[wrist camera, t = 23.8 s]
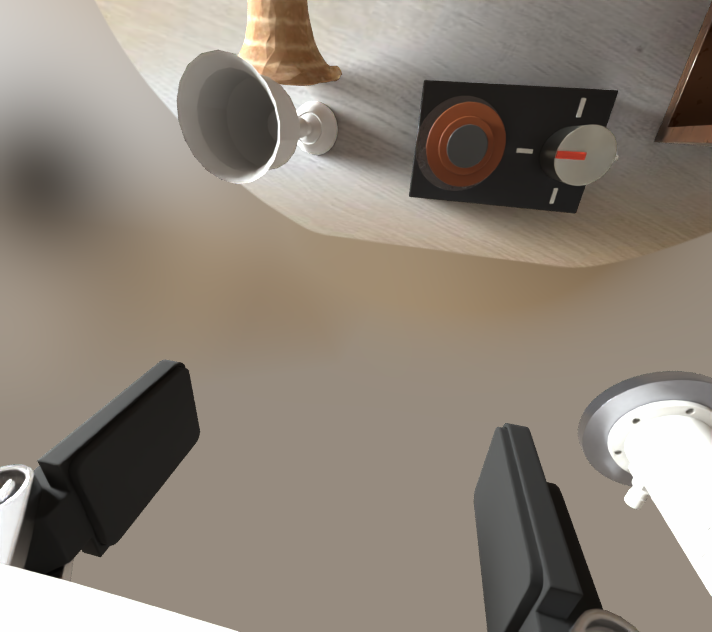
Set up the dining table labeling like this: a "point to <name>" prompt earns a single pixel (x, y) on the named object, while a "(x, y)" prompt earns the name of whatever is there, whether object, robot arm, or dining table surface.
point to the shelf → (692, 96)
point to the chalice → (245, 119)
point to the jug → (284, 44)
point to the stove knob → (578, 154)
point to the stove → (519, 141)
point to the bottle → (466, 144)
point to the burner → (423, 137)
